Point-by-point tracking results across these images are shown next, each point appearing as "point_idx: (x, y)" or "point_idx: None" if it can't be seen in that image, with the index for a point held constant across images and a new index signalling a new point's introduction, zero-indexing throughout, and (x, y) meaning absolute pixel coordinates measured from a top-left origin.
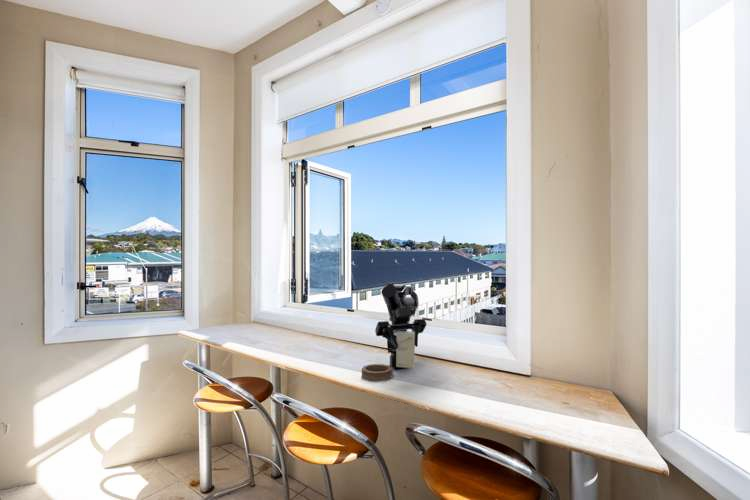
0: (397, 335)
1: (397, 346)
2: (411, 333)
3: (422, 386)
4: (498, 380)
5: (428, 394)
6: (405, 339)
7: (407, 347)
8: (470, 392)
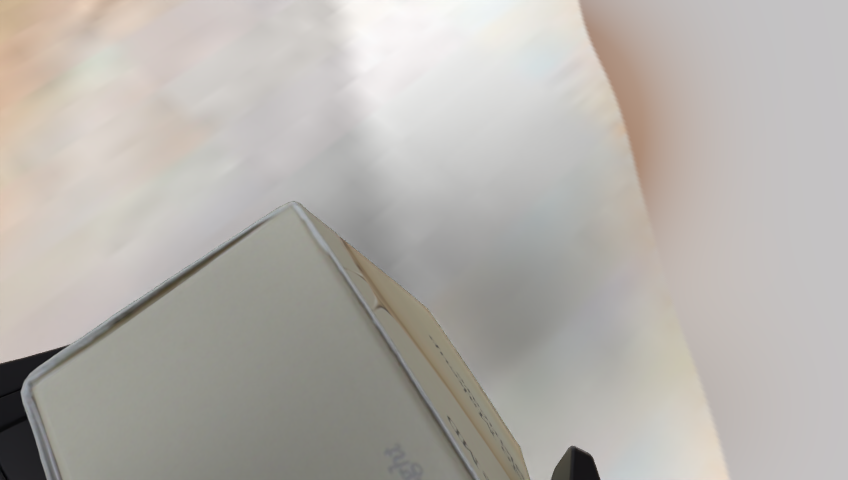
0: None
1: (578, 453)
2: (267, 272)
3: (417, 256)
4: (59, 64)
5: (494, 142)
6: (436, 368)
7: (429, 340)
8: (306, 37)
